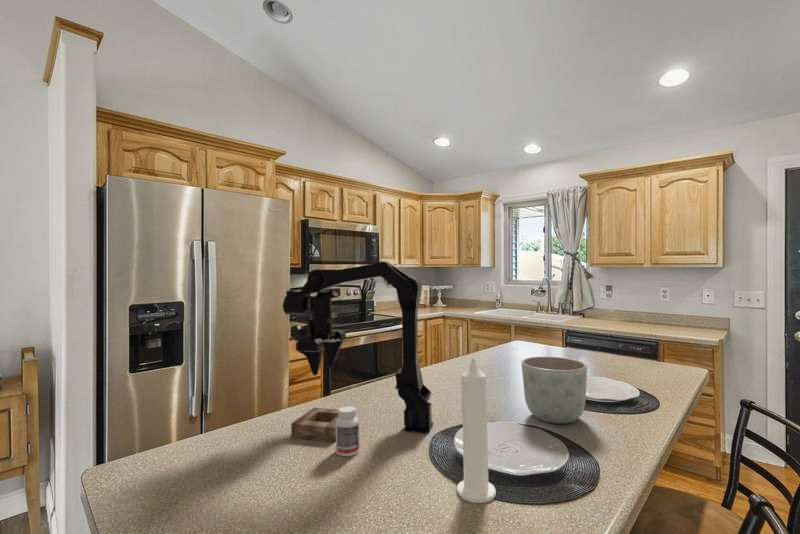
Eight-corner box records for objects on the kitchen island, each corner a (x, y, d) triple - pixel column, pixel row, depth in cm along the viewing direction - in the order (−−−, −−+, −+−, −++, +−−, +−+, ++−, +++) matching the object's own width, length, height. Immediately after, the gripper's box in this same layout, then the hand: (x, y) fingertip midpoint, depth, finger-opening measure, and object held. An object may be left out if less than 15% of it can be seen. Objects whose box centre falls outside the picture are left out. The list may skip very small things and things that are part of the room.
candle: (453, 483, 77) (450, 354, 77) (488, 481, 77) (486, 353, 77) (462, 504, 70) (459, 362, 70) (501, 502, 70) (498, 361, 70)
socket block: (353, 423, 108) (353, 410, 108) (335, 442, 96) (334, 427, 96) (314, 419, 111) (313, 407, 111) (291, 437, 99) (291, 423, 99)
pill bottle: (363, 452, 90) (362, 410, 90) (342, 459, 87) (341, 415, 87) (352, 444, 95) (352, 403, 95) (332, 450, 92) (331, 408, 92)
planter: (511, 419, 109) (510, 364, 109) (537, 403, 121) (536, 353, 121) (575, 436, 97) (574, 374, 97) (597, 416, 109) (595, 361, 110)
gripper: (312, 311, 121) (313, 362, 121) (276, 318, 103) (278, 378, 103) (345, 310, 118) (347, 363, 118) (315, 318, 100) (317, 380, 100)
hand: (323, 370), depth 110 cm, fingers open, 9 cm apart
